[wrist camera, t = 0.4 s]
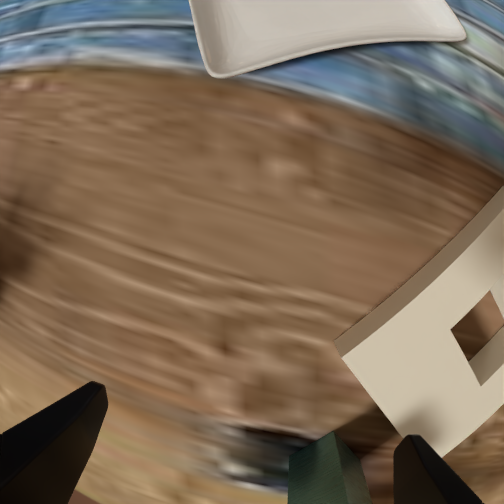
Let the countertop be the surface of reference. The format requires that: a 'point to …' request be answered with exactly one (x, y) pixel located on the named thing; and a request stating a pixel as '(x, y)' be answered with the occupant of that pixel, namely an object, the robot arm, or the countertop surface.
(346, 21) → the salad plate
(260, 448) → the countertop surface
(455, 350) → the beige square hole board
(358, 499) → the teal rectangular block
